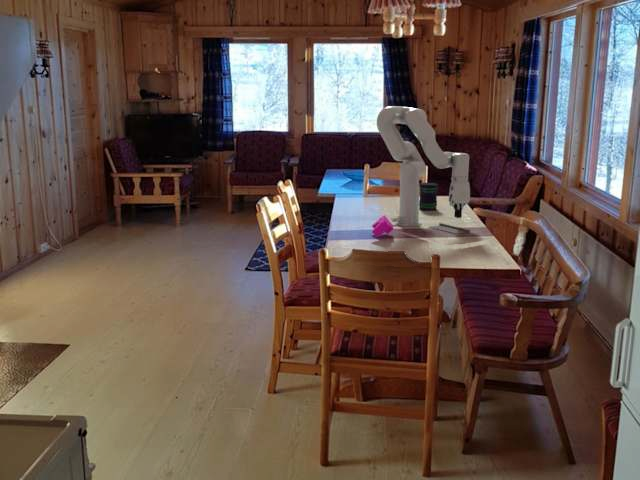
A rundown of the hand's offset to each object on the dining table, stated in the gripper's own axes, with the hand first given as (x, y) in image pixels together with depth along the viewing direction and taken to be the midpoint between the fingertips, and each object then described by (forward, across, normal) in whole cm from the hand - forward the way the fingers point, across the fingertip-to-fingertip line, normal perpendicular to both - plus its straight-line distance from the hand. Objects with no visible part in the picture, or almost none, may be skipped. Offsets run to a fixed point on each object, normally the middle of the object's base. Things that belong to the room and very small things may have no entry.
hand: (457, 217), depth 309 cm
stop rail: (+6, -2, 0) cm, 6 cm away
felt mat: (+6, -6, 0) cm, 9 cm away
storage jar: (+6, +23, +47) cm, 53 cm away
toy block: (0, -38, +6) cm, 38 cm away
